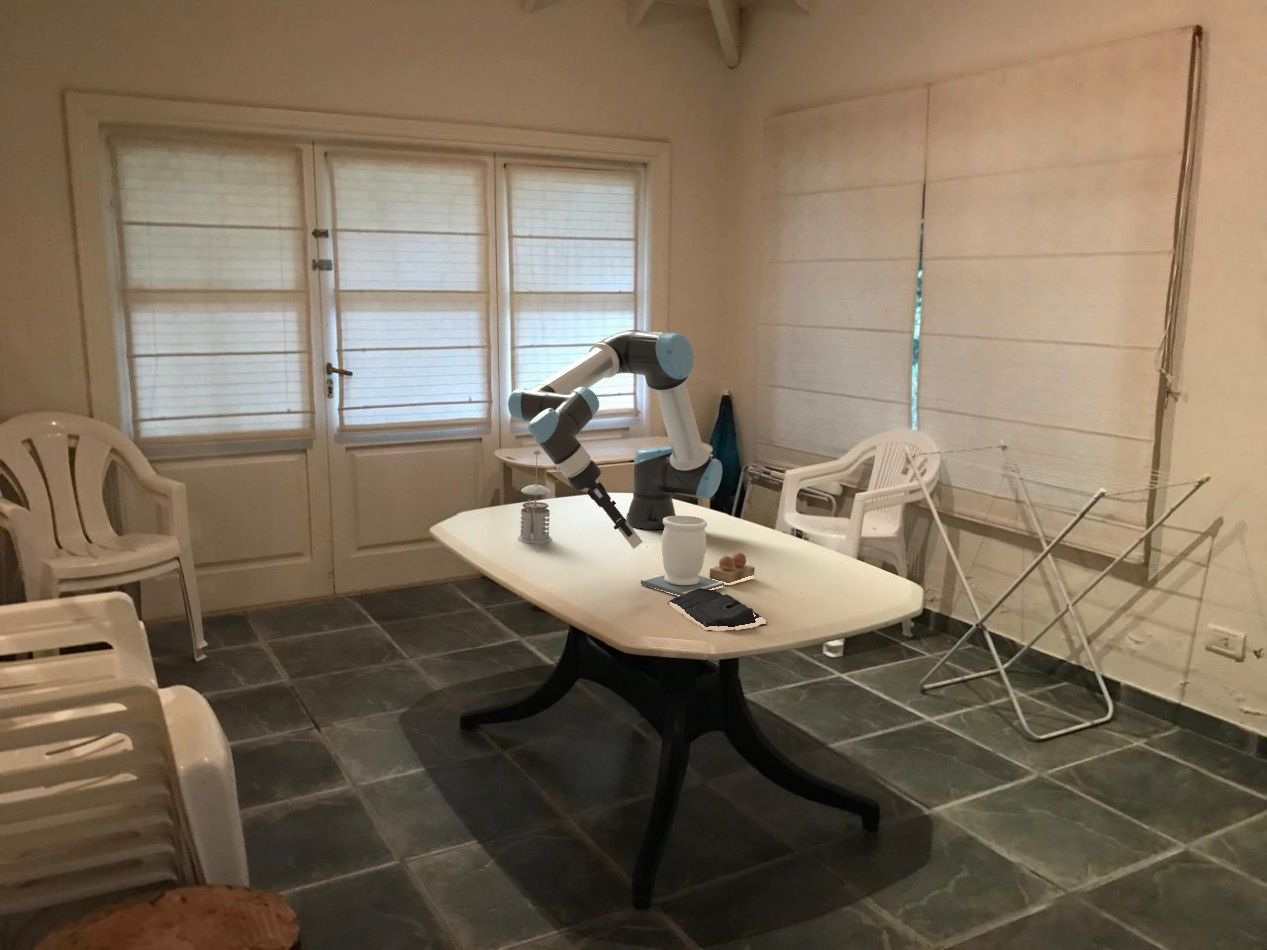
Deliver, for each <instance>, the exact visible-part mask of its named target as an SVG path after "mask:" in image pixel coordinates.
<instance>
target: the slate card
mask: <svg viewBox="0 0 1267 950" xmlns="http://www.w3.org/2000/svg"><path fill="white" fill-rule="evenodd" d="M666 574H667V573H666V572H665V573H664V572H663V573H661V574H658V575H653V576H649V577H647V578H646V577H645V578H641V580H640V585H641V584H642V585H641V586H643V585H646V586H649V587H652V588H656V589H659V590H663V591H666V592H670V593H673V594H677V595H680V596H682V595H684V594H686V593H688V592H690V591H693V590H695V589H698V588H703V589H712V588H716V587H719V586H722V585H724V583H723V582H718V581H715V580H712V579H710V578H707V577H704V576H702V575H698V577H699V579H700V582H699V583H697V584H695V585H687V586H685V585H675V584H671V583H668V582H666V581H665V580H664V577H665V575H666ZM646 586H645V587H646ZM724 586H725V585H724ZM649 587H648V588H649ZM652 588H651V589H652Z"/></svg>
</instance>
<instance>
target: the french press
mask: <svg viewBox="0 0 1267 950" xmlns="http://www.w3.org/2000/svg"><path fill="white" fill-rule="evenodd" d="M533 455H536V457H535V458H536V459H535V461H536V464H535V466H536V467H535V484H530V485H527V486H524V487H523V488H521V490H520V491H521V493H522V494H523V495H524V494H525V495H529V496H535V499H534V501H531V498H529V499H528V501H527V502H524V503H523V504H522V507H523V508H521V510H520V519H521V520H520V524H521V525H520V535H518V536H517V538H518V540H519V541H518V540H517V541H518V542H520V541H522V542H521V543H523V542H526V543H525V544H529V543H536V544H537V545H538V544H540V545H542V544H547V543H550V542H552V541H553V538H552V537H551V536H550V515H551V514H550V513H551V511H550V509H548V507H549V504H548V503H546V502H542V501H539V502H538V501H537V496H541V495H542V496H543V495H548V494H550V493H551V489H549V487H546V486H545V485H542V484H538V482H537V481H538V477H537V476H538V455H541V451H540V450H539V449H535V450H533ZM546 517H547V518H546ZM536 544H535V545H536Z"/></svg>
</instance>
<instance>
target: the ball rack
mask: <svg viewBox="0 0 1267 950" xmlns="http://www.w3.org/2000/svg"><path fill="white" fill-rule="evenodd" d="M718 565H719V566H716V567H712V568H710V569H709V579H710V578H711V579H715V580H718V581H723V582H726V583H731V582H734V581H737V580H740V579H742V578H745V577H748V576H752V575H754V576H755V566H752V565H748V564H747V556H746V555H745V554H744V553H742V552H736V553H734V554H733V555H732V556H729V555H724V556H722V557H721V558H720V559H719V561H718Z"/></svg>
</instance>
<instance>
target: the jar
mask: <svg viewBox="0 0 1267 950" xmlns="http://www.w3.org/2000/svg"><path fill="white" fill-rule="evenodd" d="M663 524H664V525H665V528H664V530H663V531H662V534H661V535H662V536H661V555H662V563H663V568H664V571H665V573H667V574H666V575H665V577H664V580H665V581H666V582H668V583H671V584H675V585H685V586H687V585H695V584H697V583H699V582H700V579H699V577H698V576H699V574H700V572H701V571H702V568H703V565H704V559H705V555H706V550H707V534H706V529H705V528H706V527H708V521H707V520H706V519H703V518H701V517H697V516H691V515H676V516H669V517H665V518H663Z"/></svg>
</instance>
